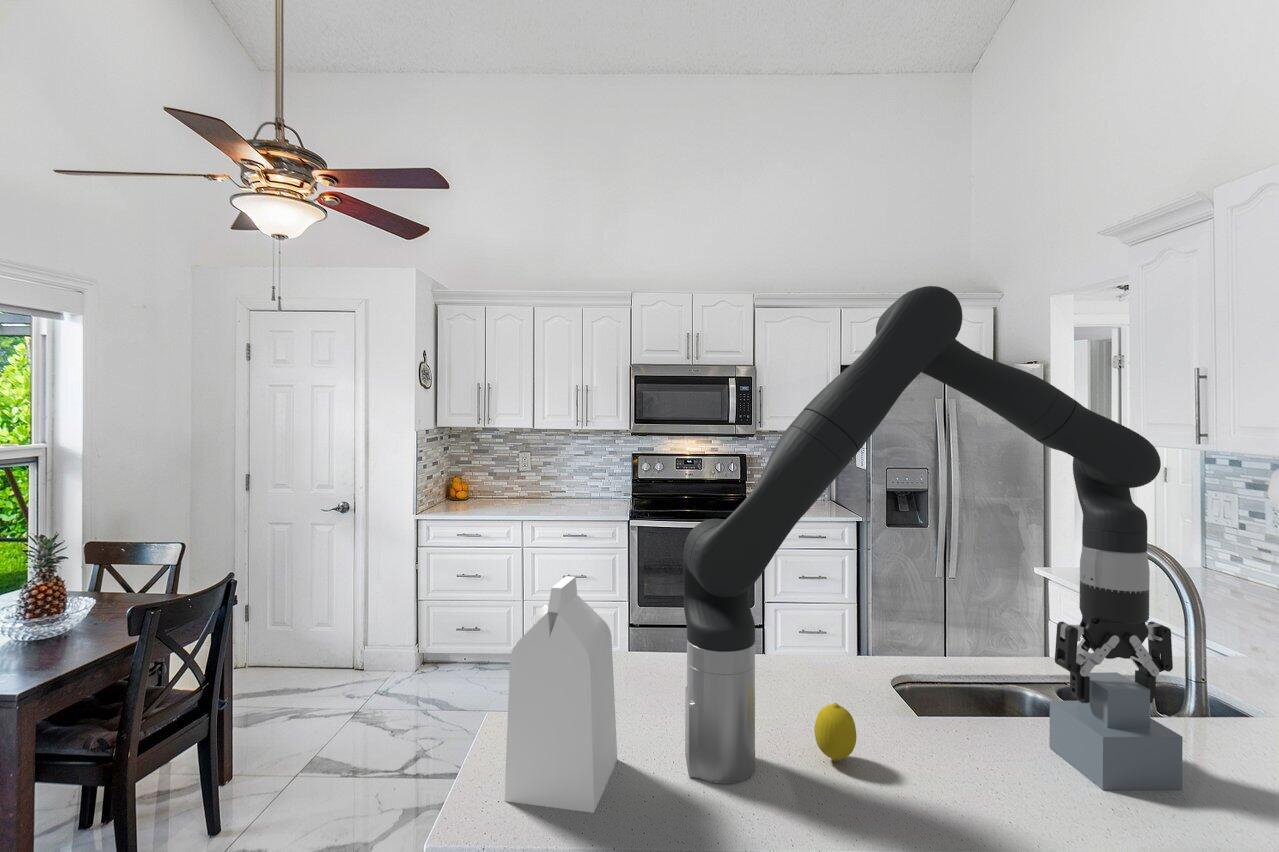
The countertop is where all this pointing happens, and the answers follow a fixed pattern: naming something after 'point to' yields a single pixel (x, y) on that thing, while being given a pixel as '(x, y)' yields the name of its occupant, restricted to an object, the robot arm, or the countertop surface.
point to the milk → (561, 707)
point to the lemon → (835, 732)
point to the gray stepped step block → (1117, 737)
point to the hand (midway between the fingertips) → (1112, 700)
